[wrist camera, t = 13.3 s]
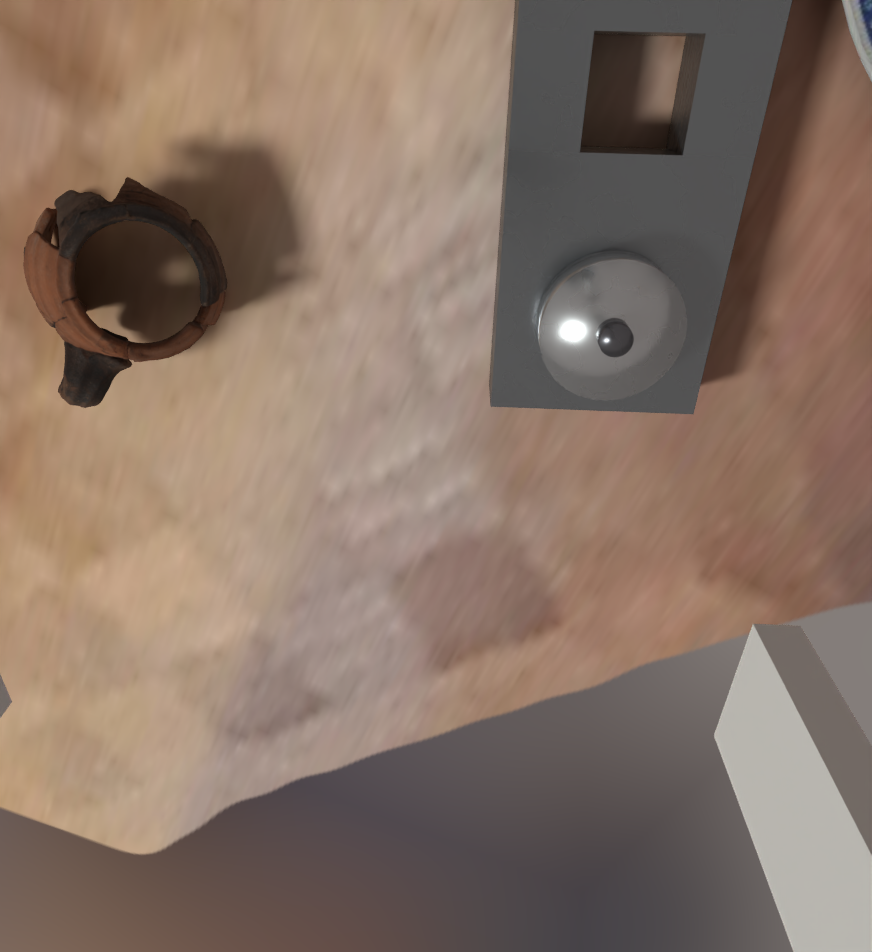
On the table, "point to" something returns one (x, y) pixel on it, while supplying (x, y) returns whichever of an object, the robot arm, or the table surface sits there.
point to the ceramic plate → (861, 29)
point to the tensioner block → (623, 206)
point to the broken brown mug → (53, 289)
